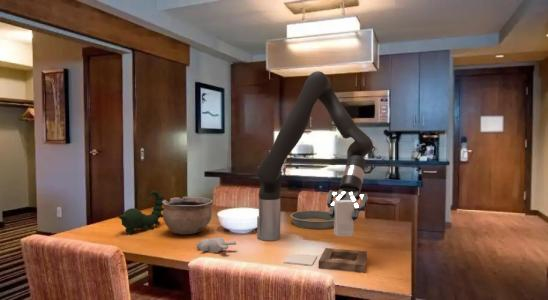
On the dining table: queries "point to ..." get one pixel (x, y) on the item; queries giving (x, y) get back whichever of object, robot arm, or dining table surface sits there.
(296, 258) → the ceramic tile
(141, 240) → the dining table surface
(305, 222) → the cake pan
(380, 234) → the dining table surface
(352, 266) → the frame
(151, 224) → the toy figurine
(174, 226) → the ceramic bowl
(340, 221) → the skincare box
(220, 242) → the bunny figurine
